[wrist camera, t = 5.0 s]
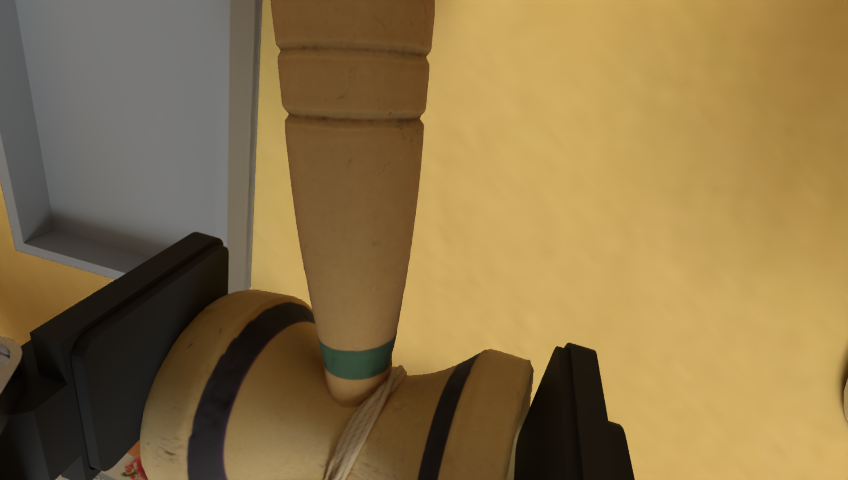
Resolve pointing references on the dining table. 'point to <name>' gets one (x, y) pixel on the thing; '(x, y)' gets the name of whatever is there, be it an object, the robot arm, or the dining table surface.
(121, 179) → the tray
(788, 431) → the dining table surface
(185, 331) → the kendama
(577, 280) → the dining table surface
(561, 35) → the dining table surface
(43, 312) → the dining table surface
